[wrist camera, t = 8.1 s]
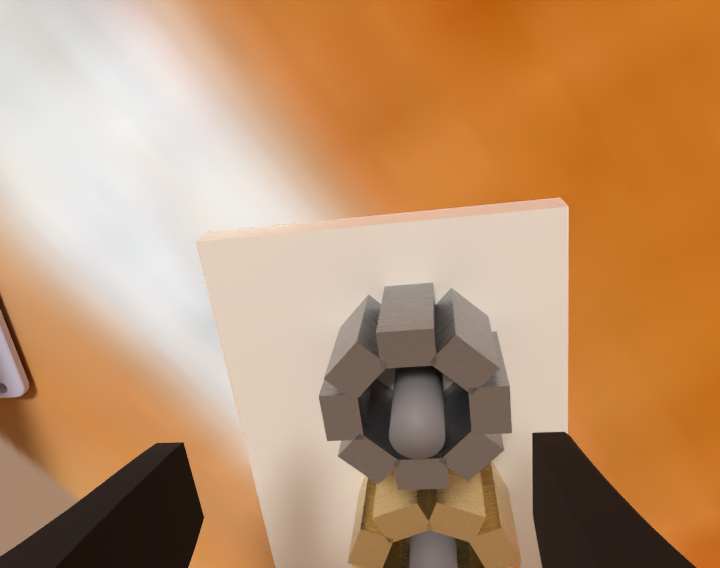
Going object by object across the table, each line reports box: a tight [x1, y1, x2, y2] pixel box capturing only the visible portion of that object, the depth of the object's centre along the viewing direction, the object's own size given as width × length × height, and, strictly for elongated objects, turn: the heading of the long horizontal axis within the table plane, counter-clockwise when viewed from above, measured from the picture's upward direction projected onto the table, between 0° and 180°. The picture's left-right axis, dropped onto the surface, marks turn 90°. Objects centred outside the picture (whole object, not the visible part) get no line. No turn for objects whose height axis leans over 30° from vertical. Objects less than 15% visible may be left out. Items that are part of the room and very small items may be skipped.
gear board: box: [196, 198, 569, 568], centre depth 20 cm, size 12×16×5 cm
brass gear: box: [348, 461, 522, 568], centre depth 20 cm, size 6×6×3 cm
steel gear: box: [319, 282, 512, 490], centre depth 18 cm, size 6×6×3 cm
